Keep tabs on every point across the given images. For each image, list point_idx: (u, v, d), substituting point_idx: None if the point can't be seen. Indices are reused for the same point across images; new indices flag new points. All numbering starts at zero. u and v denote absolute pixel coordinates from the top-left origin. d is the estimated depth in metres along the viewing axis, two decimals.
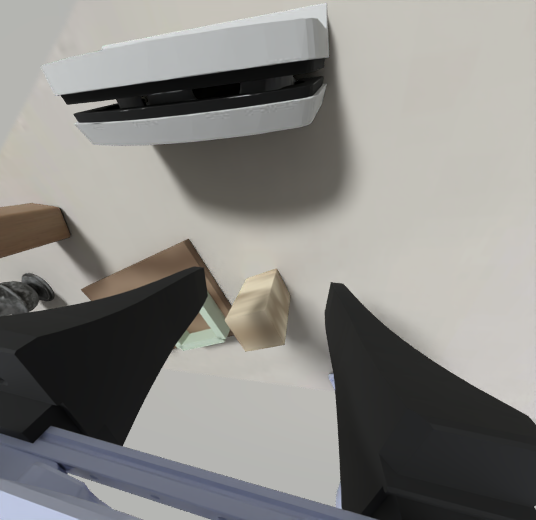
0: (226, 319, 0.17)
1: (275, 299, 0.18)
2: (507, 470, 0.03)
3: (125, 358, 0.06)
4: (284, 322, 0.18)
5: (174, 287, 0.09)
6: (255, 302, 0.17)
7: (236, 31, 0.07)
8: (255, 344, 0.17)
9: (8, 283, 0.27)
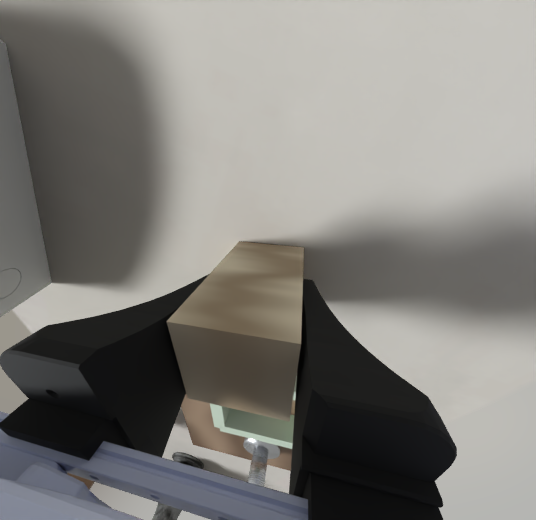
0: (188, 393, 0.07)
1: (232, 278, 0.08)
2: (400, 445, 0.03)
3: (166, 367, 0.06)
4: (285, 295, 0.07)
5: None
6: None
7: None
8: (273, 395, 0.06)
9: None
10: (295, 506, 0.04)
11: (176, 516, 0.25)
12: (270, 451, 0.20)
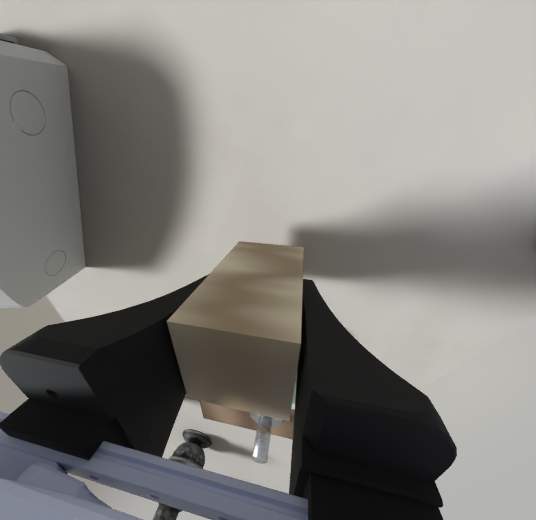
0: (188, 393, 0.07)
1: (231, 278, 0.08)
2: (400, 445, 0.03)
3: (166, 366, 0.06)
4: (285, 295, 0.07)
5: None
6: None
7: None
8: (273, 395, 0.06)
9: (175, 451, 0.30)
10: (295, 506, 0.04)
11: None
12: (274, 418, 0.23)
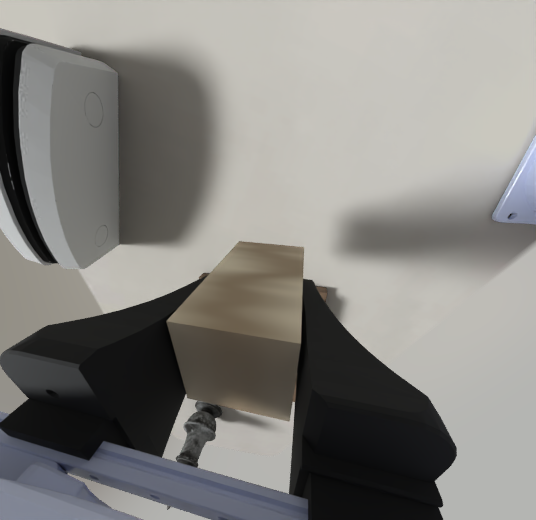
0: (188, 393, 0.07)
1: (231, 278, 0.08)
2: (399, 445, 0.03)
3: (166, 366, 0.06)
4: (285, 295, 0.07)
5: None
6: None
7: None
8: (273, 395, 0.06)
9: (189, 418, 0.33)
10: (295, 506, 0.04)
11: (202, 445, 0.31)
12: None
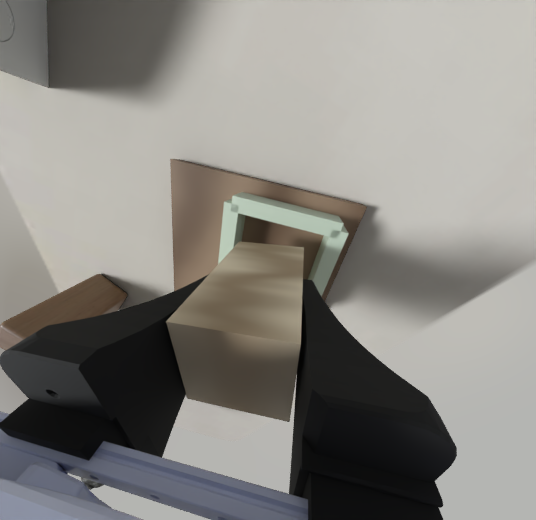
0: (188, 393, 0.07)
1: (231, 278, 0.08)
2: (399, 446, 0.03)
3: (166, 366, 0.06)
4: (285, 295, 0.07)
5: None
6: None
7: None
8: (273, 395, 0.06)
9: None
10: (295, 506, 0.04)
11: None
12: None
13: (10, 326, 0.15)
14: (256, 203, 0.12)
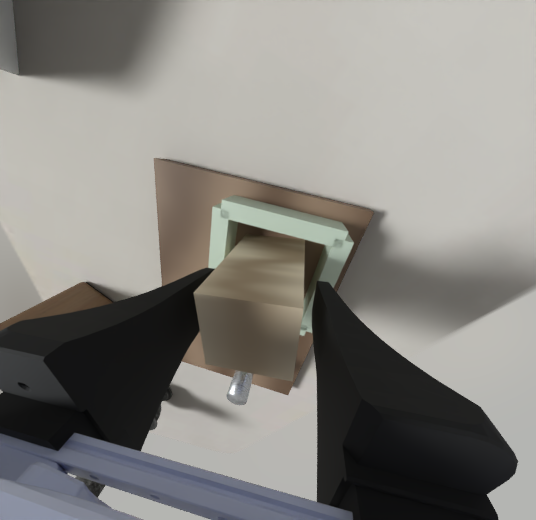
0: (206, 360, 0.09)
1: (243, 262, 0.09)
2: (456, 459, 0.03)
3: (144, 362, 0.06)
4: (289, 275, 0.08)
5: (189, 289, 0.08)
6: None
7: None
8: (279, 357, 0.08)
9: None
10: (339, 519, 0.04)
11: None
12: None
13: None
14: (249, 208, 0.10)
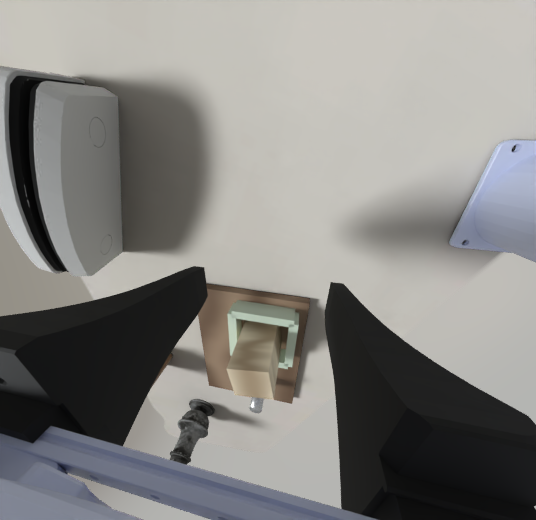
0: (235, 393, 0.19)
1: (245, 344, 0.20)
2: (506, 470, 0.03)
3: (125, 358, 0.06)
4: (265, 351, 0.19)
5: (174, 287, 0.09)
6: None
7: None
8: (265, 389, 0.18)
9: (183, 416, 0.35)
10: None
11: (195, 441, 0.33)
12: None
13: None
14: (245, 313, 0.21)
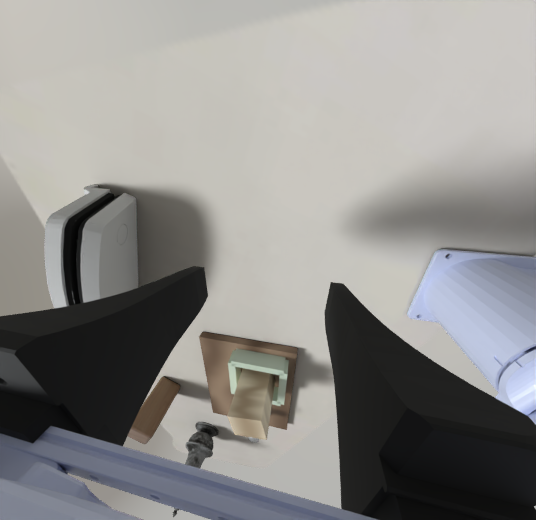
0: None
1: (243, 391, 0.24)
2: (508, 470, 0.03)
3: (125, 358, 0.06)
4: (259, 399, 0.23)
5: (174, 287, 0.09)
6: None
7: (46, 258, 0.15)
8: (259, 432, 0.22)
9: (190, 438, 0.39)
10: None
11: (201, 462, 0.37)
12: None
13: (133, 426, 0.29)
14: (242, 363, 0.25)
